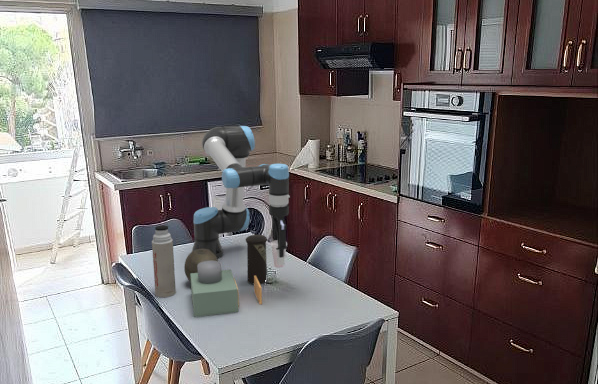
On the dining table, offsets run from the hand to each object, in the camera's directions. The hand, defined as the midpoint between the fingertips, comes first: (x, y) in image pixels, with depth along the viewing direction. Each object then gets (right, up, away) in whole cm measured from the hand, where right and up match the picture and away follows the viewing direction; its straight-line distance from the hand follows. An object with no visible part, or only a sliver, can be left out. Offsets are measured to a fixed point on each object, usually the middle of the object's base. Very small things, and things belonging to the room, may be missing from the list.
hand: (279, 261), depth 193 cm
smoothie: (0, -2, +1) cm, 2 cm away
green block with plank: (-20, -15, -2) cm, 26 cm away
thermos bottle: (-46, -14, +5) cm, 48 cm away
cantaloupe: (-33, -12, +14) cm, 38 cm away
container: (-10, -11, +17) cm, 23 cm away
